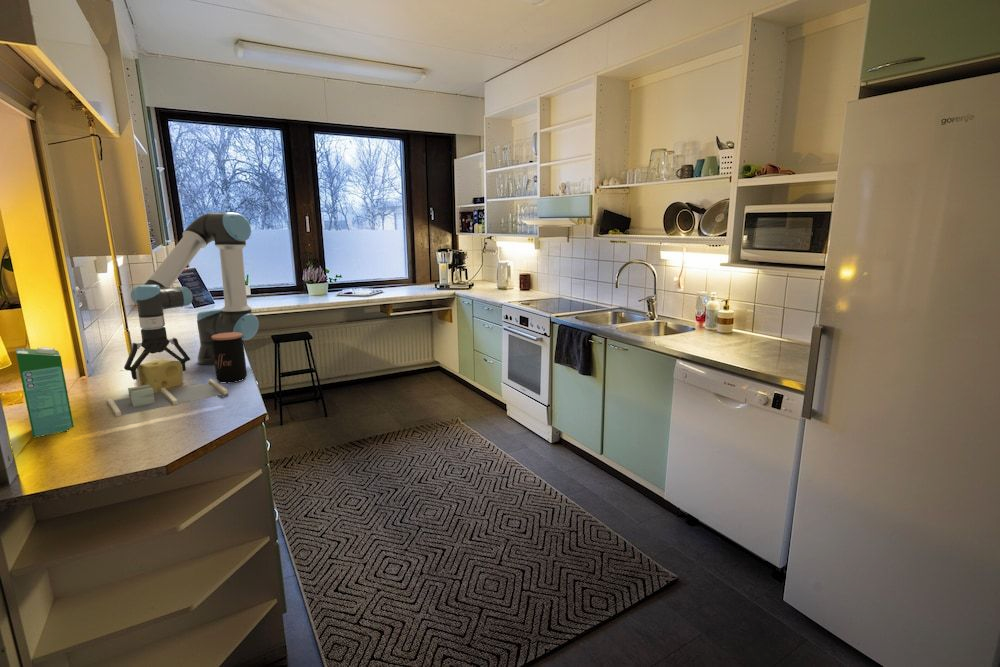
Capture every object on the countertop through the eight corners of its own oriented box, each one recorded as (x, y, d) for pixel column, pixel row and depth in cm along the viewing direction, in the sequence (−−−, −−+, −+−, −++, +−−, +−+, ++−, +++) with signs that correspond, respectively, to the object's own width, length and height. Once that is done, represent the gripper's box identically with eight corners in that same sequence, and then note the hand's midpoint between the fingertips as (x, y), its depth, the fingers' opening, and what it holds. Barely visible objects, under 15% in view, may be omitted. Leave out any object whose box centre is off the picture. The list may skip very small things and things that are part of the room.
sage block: (130, 402, 170) (127, 388, 169) (151, 398, 174) (149, 384, 173) (133, 407, 166) (131, 392, 165) (155, 402, 170) (152, 388, 169)
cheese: (156, 394, 182) (152, 367, 180) (138, 390, 186) (134, 364, 184) (184, 386, 191) (181, 361, 189) (166, 383, 196) (163, 357, 194)
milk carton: (74, 429, 150) (59, 347, 145) (33, 438, 144) (15, 353, 139) (71, 421, 156) (56, 342, 151) (31, 429, 150) (15, 347, 145)
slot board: (108, 404, 172) (107, 398, 171) (212, 384, 193) (211, 378, 193) (117, 419, 158) (116, 412, 158) (228, 396, 180) (227, 390, 179)
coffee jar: (210, 381, 197) (205, 336, 194) (235, 374, 206) (230, 331, 203) (228, 385, 192) (222, 338, 189) (253, 377, 202) (248, 333, 198)
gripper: (112, 334, 173) (121, 393, 177) (194, 324, 190) (201, 378, 194) (108, 330, 178) (118, 388, 183) (189, 321, 195) (196, 374, 200)
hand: (161, 383), depth 188 cm, fingers open, 13 cm apart
